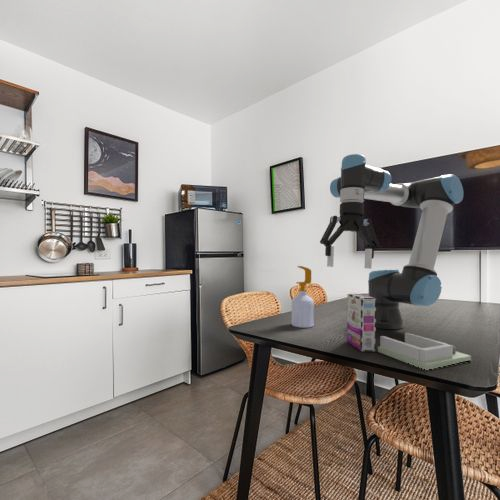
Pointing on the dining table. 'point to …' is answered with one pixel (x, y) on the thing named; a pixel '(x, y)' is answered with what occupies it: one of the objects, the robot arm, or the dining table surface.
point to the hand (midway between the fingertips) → (349, 267)
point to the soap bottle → (303, 304)
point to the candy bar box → (361, 322)
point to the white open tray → (421, 351)
